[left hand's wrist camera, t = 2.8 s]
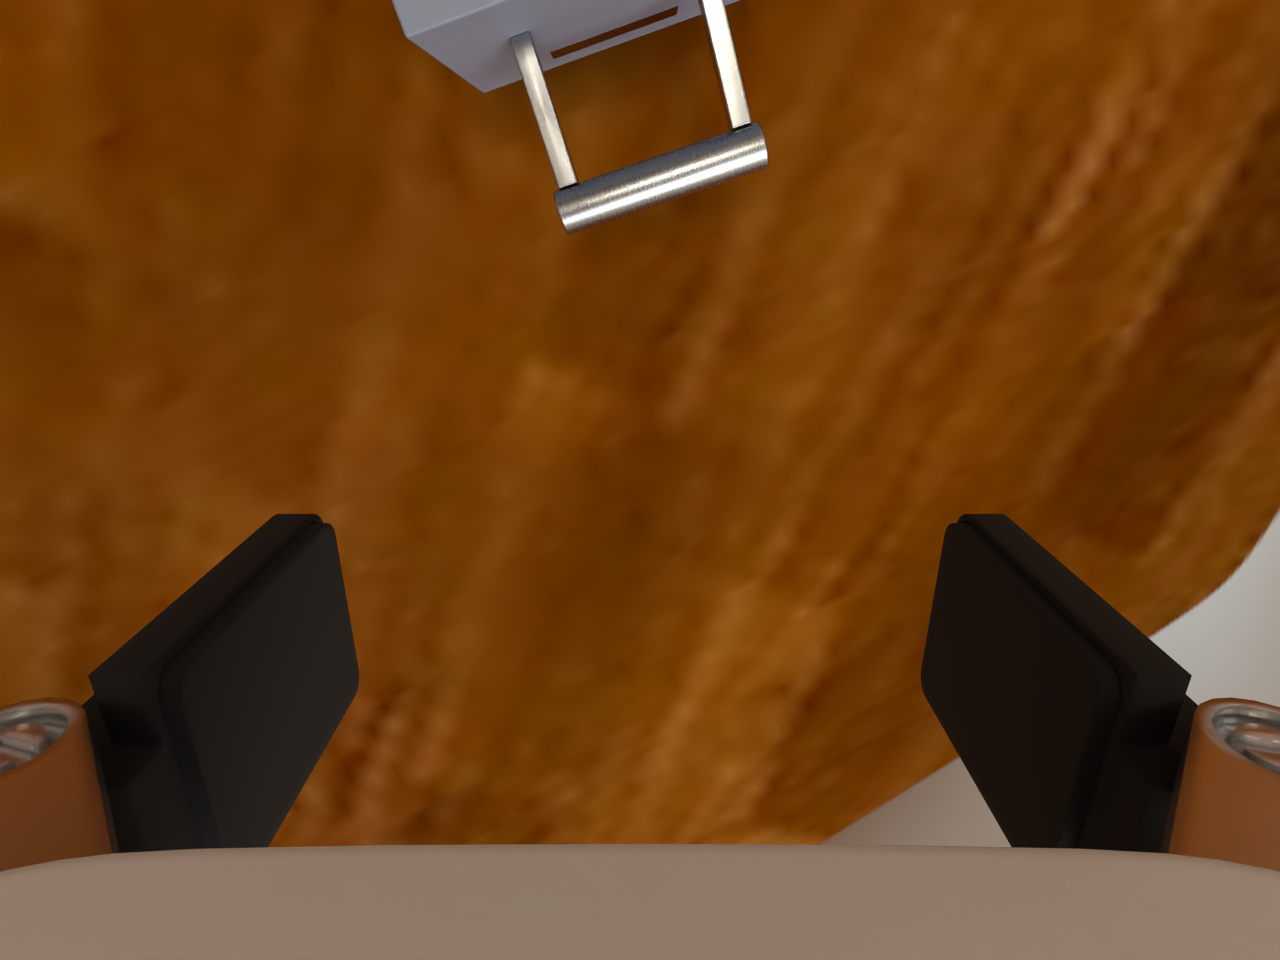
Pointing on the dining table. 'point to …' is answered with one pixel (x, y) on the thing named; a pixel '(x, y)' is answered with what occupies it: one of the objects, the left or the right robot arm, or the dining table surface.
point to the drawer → (571, 29)
